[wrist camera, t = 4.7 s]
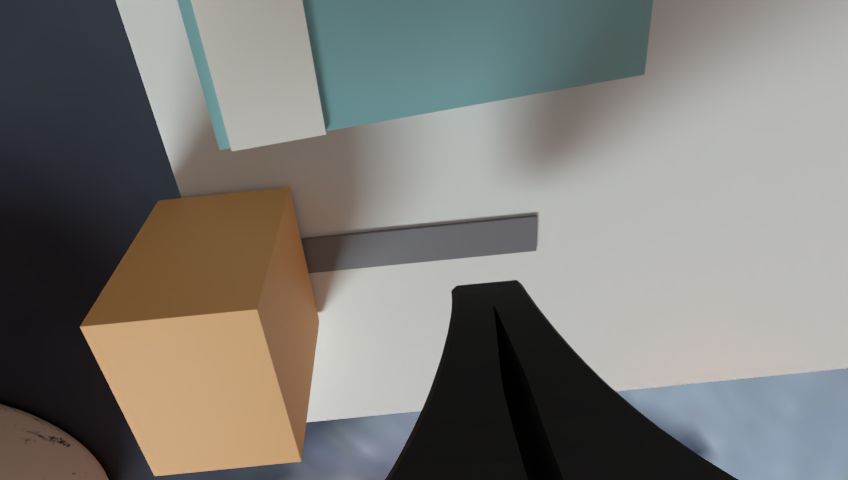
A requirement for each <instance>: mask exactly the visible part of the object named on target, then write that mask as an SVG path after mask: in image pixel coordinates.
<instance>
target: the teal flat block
mask: <svg viewBox="0 0 848 480" xmlns="http://www.w3.org/2000/svg"><path fill="white" fill-rule="evenodd" d="M177 1H178V5H179V8H180V12H181V16H182V19H183V23H184V26H185V30H186V33H187V37H188V40H189V44H190V47H191V51H192V54H193V58H194V62H195V65H196V69H197V72H198V76H199V79H200V83H201V86H202V90H203V93H204V97H205V101H206V104H207V108H208V111H209V115H210V118H211V122H212V125H213V129H214V132H215V136H216V139H217V143H218V147H219V150H224V149H230V148H231V151H238V150H243V149H249V148H255V147H260V146H266V145H271V144H277V143H282V142H288V141H294V140H299V139H305V138H310V137H316V136H322V135H326V131H331V130H336V129H342V128H347V127H353V126H359V125H364V124H370V123H376V122H381V121H387V120H392V119H398V118H404V117H409V116H415V115H420V114H426V113H432V112H437V111H443V110H448V109H454V108H460V107H465V106H471V105H477V104H482V103H488V102H493V101H499V100H505V99H510V98H516V97H521V96H527V95H533V94H538V93H544V92H549V91H555V90H561V89H566V88H572V87H578V86H583V85H589V84H594V83H600V82H606V81H611V80H617V79H622V78H628V77H634V76H639V75H645V66H646V58H647V49H648V40H649V32H650V23H651V14H652V6H653V0H177Z"/></svg>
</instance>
